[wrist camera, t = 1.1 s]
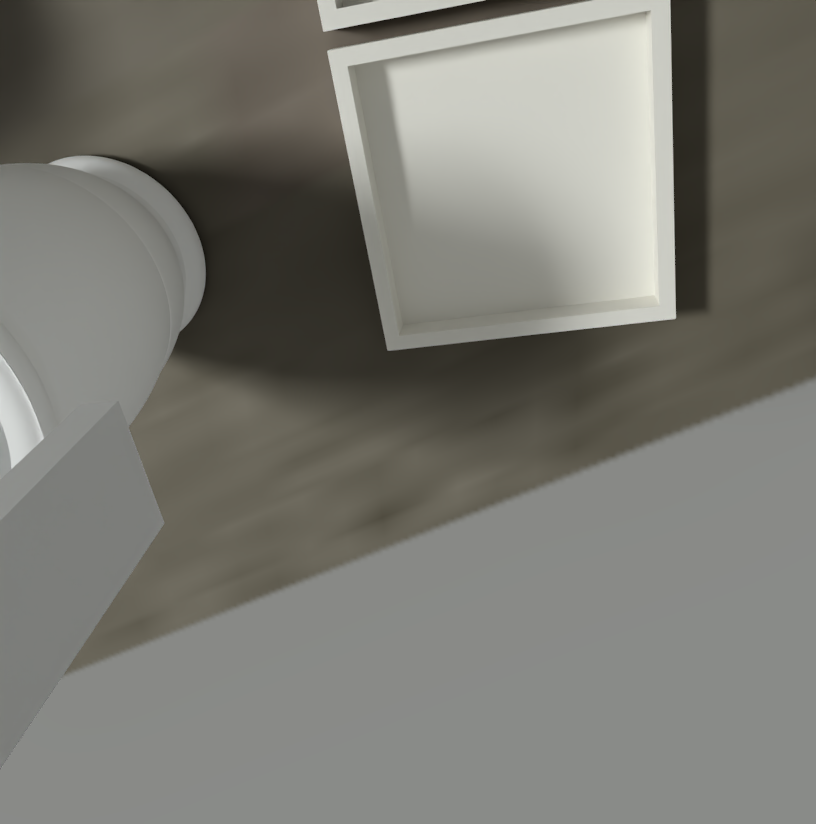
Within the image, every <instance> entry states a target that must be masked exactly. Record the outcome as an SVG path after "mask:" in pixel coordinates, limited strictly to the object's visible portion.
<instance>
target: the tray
mask: <svg viewBox="0 0 816 824" xmlns="http://www.w3.org/2000/svg"><path fill="white" fill-rule="evenodd" d="M327 52H328V57H329V62H330V67H331V72H332V77H333V82H334V87H335V92H336V97H337V102H338V107H339V112H340V117H341V122H342V127H343V132H344V137H345V142H346V147H347V152H348V157H349V162H350V167H351V172H352V177H353V182H354V187H355V192H356V197H357V202H358V207H359V212H360V217H361V222H362V227H363V232H364V237H365V242H366V247H367V251H368V256H369V261H370V266H371V271H372V276H373V281H374V286H375V291H376V296H377V301H378V306H379V311H380V316H381V321H382V326H383V331H384V336H385V341H386V346H387V351H392V350H401V349H410V348H419V347H428V346H437V345H446V344H455V343H464V342H473V341H481V340H490V339H499V338H508V337H517V336H526V335H535V334H544V333H553V332H562V331H571V330H580V329H589V328H598V327H607V326H616V325H625V324H633V323H642V322H651V321H660V320H669V319H676V294H675V238H674V181H673V124H672V67H671V10H670V0H586V1H581V2H576V3H571V4H565V5H560V6H555V7H550V8H544V9H539V10H534V11H528V12H523V13H518V14H513V15H507V16H502V17H497V18H492V19H486V20H481V21H476V22H471V23H465V24H460V25H455V26H449V27H444V28H439V29H434V30H428V31H423V32H418V33H413V34H407V35H402V36H397V37H391V38H386V39H381V40H376V41H370V42H365V43H360V44H355V45H349V46H344V47H339V48H334V49H331V50H328V51H327Z"/></svg>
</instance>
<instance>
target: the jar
mask: <svg viewBox="0 0 816 824" xmlns="http://www.w3.org/2000/svg"><path fill="white" fill-rule="evenodd" d="M205 282H206V265H205V258H204V253H203V248H202V245H201V242H200V239H199V236H198V234H197V231H196V229H195V227H194V225H193V223H192V221H191V220H190V218H189V216H188V215H187V213H186V212H185V210H184V209H183V207H182V206H181V205H180V204H179V202H178V201H177V200H176V199H175V198H174V197H173V196H172V195H171V194H170V193H169V192H168V191H167V190H166V189H165V188H164V187H163V186H162V185H161V184H159V183H158V182H157V181H156V180H154V179H153V178H152V177H150V176H149V175H147V174H145V173H144V172H142V171H140V170H138V169H136V168H135V167H133V166H130V165H128V164H125V163H123V162H120V161H117V160H114V159H110V158H105V157H99V156H72V157H66V158H62V159H59V160H56V161H53V162H51V163H49V164H41V163H14V164H3V165H0V479H2V478H3V477H4V476H5V475H6V474H7V473H8V472H9V471H10V470H11V469H12V468H13V467H14V466H15V465H16V464H17V463H19V462H20V461H21V460H22V459H23V458H24V457H25V456H26V455H27V454H28V453H29V452H30V451H31V450H32V449H33V448H35V447H36V446H37V445H38V444H39V443H40V442H41V441H42V440H43V439H44V438H45V437H46V436H47V435H48V434H49V433H50V432H52V431H53V430H54V429H55V428H56V427H57V426H58V425H59V424H60V423H61V422H62V421H63V420H64V419H65V418H66V417H68V416H69V415H70V414H71V413H72V412H73V411H74V410H75V409H76V408H77V407H78V406H79V405H80V404H87V403H97V402H107V401H119V403H120V406H121V409H122V411H123V414H124V417H125V419H126V422H127V425H128V427H129V426H130V424H131V423H132V422H133V420H134V419H135V418H136V416H137V415H138V413H139V412H140V410H141V409H142V407H143V405H144V404H145V402H146V400H147V399H148V397H149V395H150V393H151V391H152V389H153V387H154V385H155V383H156V381H157V379H158V376H159V374H160V372H161V370H162V369H163V367H164V366H165V364H166V362H167V360H168V358H169V356H170V354H171V352H172V350H173V348H174V346H175V343H176V341H177V338H178V335H179V332H180V331H181V330H183V329H184V328H185V327H186V326H187V324H188V323H189V322H190V321H191V319H192V318H193V317H194V315H195V313H196V312H197V310H198V308H199V305H200V303H201V300H202V297H203V293H204V289H205Z"/></svg>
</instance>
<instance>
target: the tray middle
mask: <svg viewBox="0 0 816 824" xmlns="http://www.w3.org/2000/svg"><path fill="white" fill-rule="evenodd" d="M479 1H484V0H317V3H318V8H319V13H320V17H321V22H322V27H323V32H325V31H330V30H335V29H340V28H345V27H350V26H356V25H361V24H366V23H371V22H376V21H381V20H386V19H392V18H397V17H402V16H407V15H412V14H417V13H422V12H428V11H433V10H438V9H443V8H448V7H453V6H458V5H463V4H469V3H474V2H479Z"/></svg>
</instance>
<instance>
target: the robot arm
mask: <svg viewBox="0 0 816 824" xmlns="http://www.w3.org/2000/svg"><path fill="white" fill-rule="evenodd" d="M163 525H164V521H163V518H162V515H161V513H160V510H159V507H158V505H157V502H156V499H155V497H154V494H153V491H152V489H151V486H150V483H149V481H148V478H147V475H146V473H145V470H144V467H143V465H142V462H141V459H140V457H139V454H138V451H137V449H136V446H135V443H134V441H133V438H132V435H131V433H130V430H129V427H128V425H127V422H126V419H125V417H124V414H123V411H122V409H121V406H120V403H119V401H107V402H97V403H87V404H80V405H79V406H78V407H77V408H76V409H75V410H74V411H73V412H72V413H71V414H70V415H69V416H68V417H66V418H65V419H64V420H63V421H62V422H61V423H60V424H59V425H58V426H57V427H56V428H55V429H54V430H53V431H52V432H50V433H49V434H48V435H47V436H46V437H45V438H44V439H43V440H42V441H41V442H40V443H39V444H38V445H37V446H36V447H35V448H33V449H32V450H31V451H30V452H29V453H28V454H27V455H26V456H25V457H24V458H23V459H22V460H21V461H20V462H19V463H17V464H16V465H15V466H14V467H13V468H12V469H11V470H10V471H9V472H8V473H7V474H6V475H5V476H4V477H3V478H2V479H0V769H1V767H2V766H3V764H4V763H5V761H6V760H7V758H8V757H9V755H10V754H11V752H12V751H13V749H14V748H15V746H16V745H17V743H18V742H19V740H20V739H21V737H22V736H23V734H24V733H25V731H26V730H27V728H28V727H29V725H30V724H31V722H32V721H33V719H34V718H35V716H36V715H37V713H38V712H39V710H40V709H41V707H42V706H43V704H44V703H45V701H46V700H47V698H48V697H49V695H50V694H51V692H52V691H53V690H54V688H55V686H56V685H57V684H58V682H59V681H60V679H61V678H62V676H63V675H64V673H65V672H66V670H67V669H68V667H69V666H70V664H71V663H72V661H73V660H74V658H75V657H76V655H77V654H78V652H79V651H80V649H81V648H82V646H83V645H84V643H85V642H86V640H87V639H88V637H89V636H90V634H91V633H92V631H93V630H94V628H95V627H96V625H97V624H98V622H99V621H100V619H101V618H102V616H103V615H104V613H105V612H106V610H107V609H108V607H109V606H110V604H111V603H112V601H113V600H114V598H115V597H116V595H117V594H118V592H119V591H120V589H121V588H122V586H123V585H124V583H125V582H126V580H127V579H128V577H129V576H130V574H131V573H132V571H133V570H134V568H135V567H136V565H137V564H138V562H139V561H140V559H141V558H142V556H143V555H144V553H145V552H146V550H147V549H148V547H149V546H150V544H151V543H152V541H153V540H154V538H155V537H156V535H157V534H158V532H159V531H160V529H161V528H162V526H163Z"/></svg>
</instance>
